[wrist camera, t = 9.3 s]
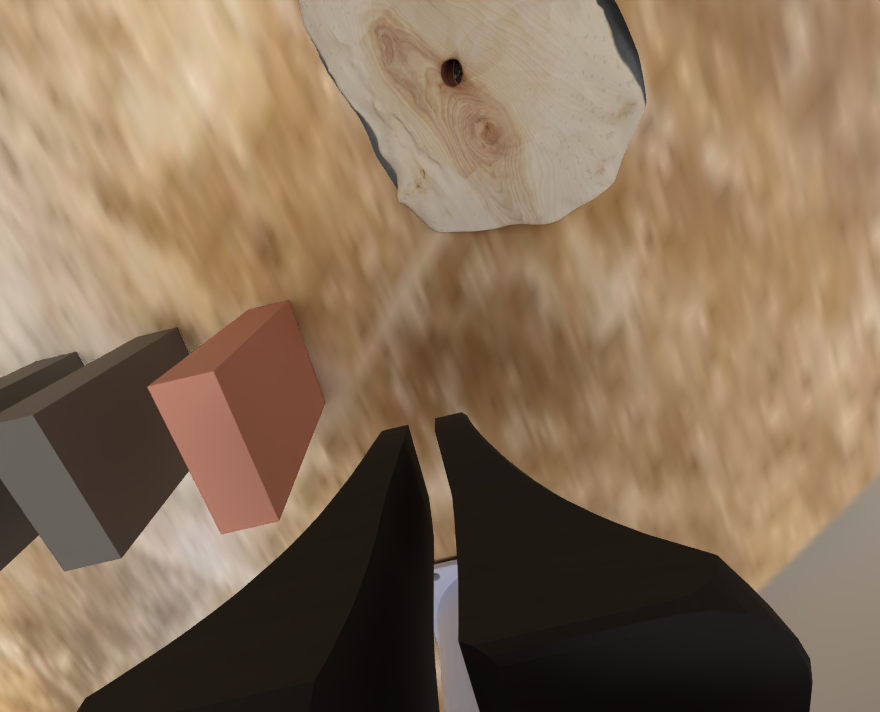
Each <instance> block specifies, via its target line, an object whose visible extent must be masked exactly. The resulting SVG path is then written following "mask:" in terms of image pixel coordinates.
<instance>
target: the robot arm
mask: <svg viewBox="0 0 880 712" xmlns="http://www.w3.org/2000/svg"><path fill="white" fill-rule="evenodd" d="M435 433H436V436H437V440H438V444H439V448H440V452H441V455H442V459H443V463H444V467H445V470H446V474H447V478H448V482H449V486H450V489H451V493H452V498H453V509H454V520H455V534H456V548H457V559H456V560H452V561H447V562H443V563H439V564H434V535H433V526H432V517H431V510H430V502H429V496H428V492H427V489H426V485H425V482H424V478H423V475H422V472H421V468H420V465H419V461H418V458H417V454H416V451H415V447H414V444H413V440H412V437H411V433H410V430H409V426H408V425H405V426H401V427H397V428H392V429H388V430H384V431H382V432H381V433H380V434H379V436H378V437H377V439H376V440H375V442H374V443H373V445H372V446H371V448H370V449H369V451H368V452H367V454H366V455H365V456H364V458H363V459H362V461H361V462H360V464H359V465H358V467H357V468H356V469H355V471H354V472H353V474H352V475H351V476H350V478H349V479H348V481H347V482H346V483H345V484H344V486H343V487H342V488H341V489H340V491H339V492H338V493H337V494H336V496H335V497H334V498H333V499H332V500H331V502H330V503H329V504H328V505H327V507H326V508H325V509H324V510H323V512H322V513H321V514H320V515H319V516H318V517H317V518H316V520H315V521H314V522H313V523H312V524H311V525H310V526H309V527H308V528H307V529H306V530H305V531H304V532H303V533H302V534H301V535H300V537H299V538H298V539H297V540H296V541H295V542H294V543H293V544H292V545H291V546H290V547H289V548H288V549H287V550H286V551H284V552H283V553H282V554H281V555H280V556H279V557H278V558H277V559H276V560H275V561H273V562H272V563H271V564H270V565H269V566H268V567H267V568H265V569H264V570H263V571H262V572H261V573H260V574H259V575H257V576H256V577H255V578H254V579H253V580H252V581H251V582H250V583H248V584H247V585H246V586H245V587H244V588H243V589H241V590H240V591H239V592H238V593H237V594H235V595H234V596H233V597H232V598H230V599H229V600H228V601H226V602H225V603H224V604H223V605H221V606H220V607H219V608H218V609H216V610H215V611H214V612H212V613H211V614H210V615H208V616H207V617H206V618H204V619H203V620H202V621H200V622H199V623H197V624H196V625H195V626H193V627H192V628H191V629H189V630H188V631H187V632H185V633H184V634H182V635H181V636H180V637H178V638H177V639H175V640H174V641H172V642H171V643H170V644H168V645H167V646H165V647H164V648H162V649H161V650H159V651H158V652H156V653H155V654H153V655H152V656H150V657H149V658H147V659H146V660H144V661H142V662H141V663H139V664H138V665H136V666H135V667H133V668H132V669H130V670H129V671H127V672H126V673H124V674H123V675H121V676H120V677H118V678H117V679H115V680H114V681H112V682H110V683H109V684H107V685H106V686H104V687H103V688H101V689H100V690H98V691H96V692H95V693H93V694H91V695H90V696H88V697H87V698H85V700H84V701H83V703H82V704H81V706H80V708H79V709H78V711H77V712H439V701H438V690H437V679H436V668H435V654H434V634H435V637H436V640H437V643H438V646H439V650H440V665H441V680H442V695H443V710H444V712H809V711H810V702H811V692H812V672H811V663H810V658H809V656H808V655H807V653H806V651H805V650H804V648H803V646H802V644H801V643H800V641H799V639H798V638H797V637H796V636H795V635H794V633H793V632H792V631H791V630H790V629H789V628H788V627H787V625H786V624H785V623H784V622H783V621H782V620H781V618H780V617H779V616H778V615H777V614H776V613H775V612H774V610H773V609H772V608H771V607H770V606H769V605H768V604H767V603H766V602H765V601H764V600H763V599H762V598H761V597H760V596H759V595H758V594H757V593H756V592H755V591H754V590H753V589H752V588H751V587H750V585H748V584H747V583H746V582H745V581H744V580H743V579H742V578H741V577H740V576H739V575H738V574H737V573H736V572H734V571H733V570H732V569H731V568H730V567H729V566H728V565H727V564H726V563H725V562H724V561H723V560H722V559H721V558H720V557H719V556H717V555H715V554H712V553H708V552H705V551H701V550H698V549H695V548H691V547H688V546H684V545H681V544H677V543H674V542H671V541H667V540H664V539H660V538H657V537H654V536H650V535H647V534H644V533H642V532H639V531H636V530H634V529H631V528H628V527H626V526H623V525H620V524H618V523H615V522H613V521H610V520H608V519H605V518H603V517H601V516H598V515H596V514H594V513H592V512H590V511H588V510H586V509H584V508H582V507H580V506H577V505H575V504H573V503H571V502H569V501H567V500H565V499H564V498H562V497H560V496H558V495H557V494H555V493H553V492H551V491H550V490H548V489H547V488H545V487H544V486H542V485H540V484H539V483H537V482H536V481H534V480H533V479H532V478H530V477H529V476H527V475H526V474H525V473H523V472H522V471H521V470H519V469H518V468H517V467H516V466H514V465H513V464H512V463H511V462H509V461H508V460H507V459H506V458H505V457H504V456H502V455H501V454H500V453H499V452H498V451H497V450H496V449H495V448H494V447H493V446H492V445H491V444H490V443H489V442H488V441H487V440H486V439H485V438H484V437H483V436H482V435H481V434H480V433H479V432H478V430H477V429H476V428H475V427H474V426H473V424H472V423H471V422H470V420H469V418H468V416H467V415H465V414H463V413H462V412H461V413H457V414H452V415H448V416H444V417H439V418H435ZM434 573H438V574H436V575H434Z"/></svg>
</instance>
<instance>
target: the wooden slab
mask: <svg viewBox="0 0 880 712" xmlns="http://www.w3.org/2000/svg"><path fill="white" fill-rule="evenodd" d="M299 4H300V10H301V14H302V20H303V24H304V26H305V28H306V31H307V33H308V34H309V36H310V38H311V40H312V42H313V43H314V44H315V47H316V49H317V51H318V52H319V56H320V58H321V60H322V62H323V64H324V66H325V68H326V70H327V72H328V74H329V75H330V76H331V78H332V79H333V81H334V82H335V84H336V86H337V87H338V89H339V90H340V91H341V93H342V94H343V95H344V97H345V98H346V100H347V101H348V102H349V104H350V105H351V107H352V108H353V109H354V111H355V112H356V113H357V115H358V116H359V118H360V120H361V122H362V124H363V125H364V127H365V129H366V132H367V134H368V136H369V139H370V141H371V144H372V147H373V150H374V152H375V154H376V156H377V158H378V159H379V161H380V163H381V164H382V166H383V167H384V169H385V170H386V172H387V173H388V175H389V177H390V178H391V180H392V181H393V183H394V185H395V186H396V188H397V189H398V194H397V198H398V202H399V203H403V204H405V205H407V206H408V207H409V208H410V209H411V210H412V211H413V212H414V213H415V214H416V215H417V216H419V217H420V218H421V219H422V220H423V221H424V222H425V223H426V224H427V225H428V226H429V227H430V228H432V229H433V230H435V231H439V232H463V231H482V230H489V229H495V228H500V227H503V226H508V225H514V224H532V225H539V224H549V223H553V222H555V221H558V220H560V219H561V218H563V217H564V216H565V215H567V214H568V213H570V212H571V211H573V210H574V209H576V208H577V207H579V206H581V205H583V204H585V203H587V202H589V201H591V200H592V199H594V198H595V197H597V196H598V195H600V194H601V193H602V192H603V191H605V190H606V189H607V188H608V187H609V186H611V185H612V183H613V182H614V181H615V180H616V175H617V172H618V170H619V167H620V164H621V161H622V159H623V156H624V153H625V151H626V149H627V147H628V145H629V143H630V141H631V139H632V137H633V135H634V133H635V130H636V128H637V126H638V123H639V121H640V119H641V116H642V114H643V111H644V109H645V106H646V94H645V86H644V80H643V74H642V69H641V64H640V60H639V55H638V52H637V50H636V47H635V44H634V42H633V39H632V37H631V34H630V32H629V30H628V27H627V25H626V23H625V20H624V18H623V16H622V14H621V12H620V10H619V8H618V6H617V4H616V2H615V0H299Z"/></svg>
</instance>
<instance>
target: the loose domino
mask: <svg viewBox="0 0 880 712" xmlns="http://www.w3.org/2000/svg"><path fill="white" fill-rule="evenodd" d="M148 389H149V391H150V393H151V395H152V397H153V399H154V401H155V403H156V405H157V407H158V409H159V411H160V413H161V415H162V417H163V419H164V421H165V423H166V425H167V427H168V429H169V431H170V433H171V435H172V437H173V439H174V441H175V443H176V445H177V447H178V449H179V451H180V453H181V455H182V457H183V459H184V461H185V463H186V465H187V467H188V469H189V471H190V473H191V475H192V477H193V479H194V481H195V483H196V485H197V487H198V489H199V491H200V493H201V495H202V497H203V499H204V501H205V503H206V505H207V507H208V509H209V511H210V513H211V515H212V517H213V519H214V521H215V523H216V525H217V527H218V529H219V531H220V533H221V534H225V533H229V532H234V531H238V530H242V529H247V528H251V527H256V526H260V525H264V524H269V523H273V522H278V521H279V520H280V518H281V515H282V512H283V510H284V507H285V505H286V502H287V500H288V497H289V495H290V492H291V489H292V487H293V484H294V482H295V479H296V477H297V474H298V471H299V469H300V466H301V464H302V461H303V459H304V456H305V453H306V451H307V448H308V446H309V443H310V441H311V438H312V436H313V433H314V430H315V428H316V425H317V423H318V420H319V418H320V415H321V412H322V410H323V407H324V405H325V401H324V398H323V395H322V392H321V390H320V387H319V384H318V381H317V378H316V375H315V373H314V370H313V367H312V364H311V361H310V358H309V355H308V353H307V350H306V347H305V344H304V341H303V338H302V336H301V333H300V330H299V327H298V324H297V321H296V318H295V316H294V313H293V310H292V307H291V304H290V301H289V300H288V301H284V302H279V303H275V304H271V305H267V306H262V307H258V308H254V309H250V310H247V311H246V312H245V313H243V314H242V315H241V316H240V317H238V318H237V319H236V320H234V321H233V322H232V323H230V324H229V325H228V326H226V327H225V328H224V329H222V330H221V331H220V332H218V333H217V334H216V335H215V336H213V337H212V338H211V339H209V340H208V341H207V342H205V343H204V344H203V345H201V346H200V347H199V348H197V349H196V350H195V351H194V352H192V353H191V354H190V355H188V356H187V357H186V358H184V359H183V360H182V361H180V362H179V363H178V364H176V365H175V366H174V367H172V368H171V369H170V370H169V371H167V372H166V373H165V374H163V375H162V376H161V377H159V378H158V379H157V380H155V381H154V382H153V383H151V384H150V385H149V386H148Z"/></svg>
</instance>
